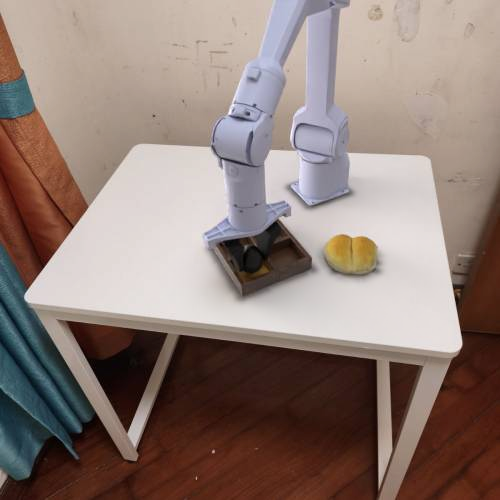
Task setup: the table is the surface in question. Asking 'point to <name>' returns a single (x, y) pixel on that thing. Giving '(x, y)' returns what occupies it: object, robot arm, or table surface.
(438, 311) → the table surface
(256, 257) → the egg
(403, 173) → the table surface
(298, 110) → the robot arm
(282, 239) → the brown compartment tray
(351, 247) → the bread roll
